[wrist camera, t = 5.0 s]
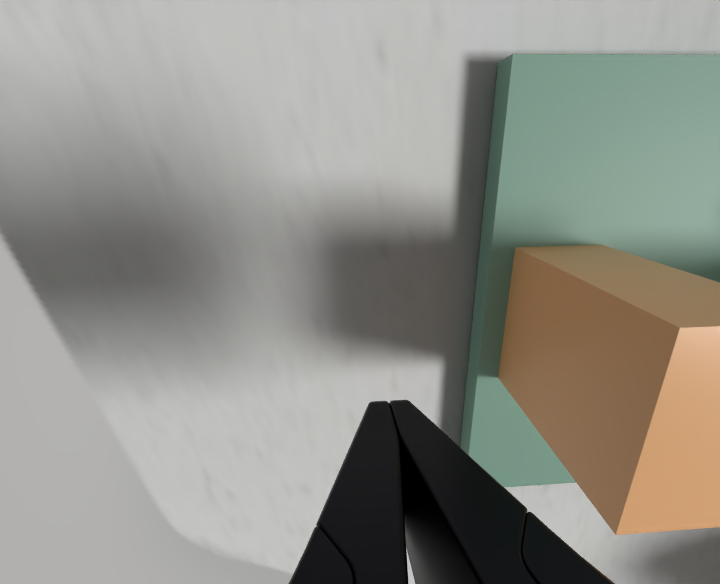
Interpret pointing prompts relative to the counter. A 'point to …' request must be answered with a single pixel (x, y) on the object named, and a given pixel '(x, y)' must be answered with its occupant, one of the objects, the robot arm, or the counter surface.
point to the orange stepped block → (620, 380)
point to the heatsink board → (586, 204)
